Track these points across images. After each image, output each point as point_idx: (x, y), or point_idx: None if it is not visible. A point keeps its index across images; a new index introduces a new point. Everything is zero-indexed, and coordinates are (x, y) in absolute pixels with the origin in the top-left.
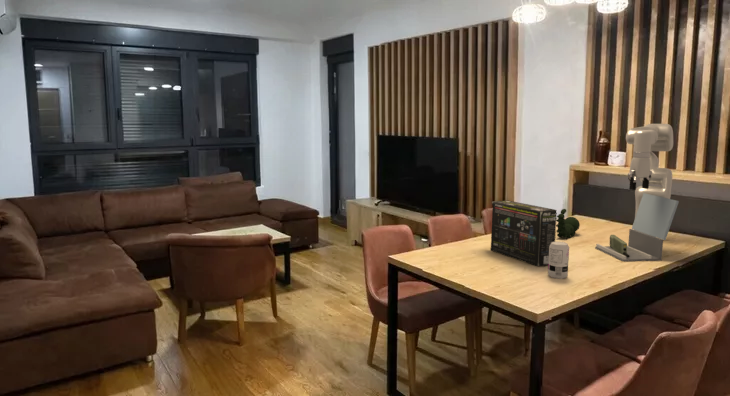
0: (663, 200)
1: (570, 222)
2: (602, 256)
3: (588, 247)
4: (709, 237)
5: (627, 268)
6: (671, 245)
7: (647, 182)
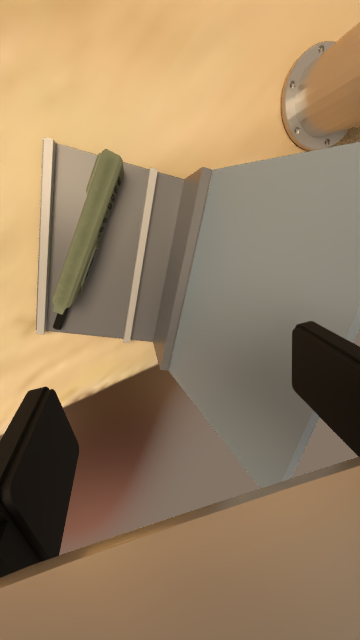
0: (296, 397)
1: None
2: (3, 258)
3: (24, 113)
4: None
5: (5, 385)
6: None
7: (351, 442)
